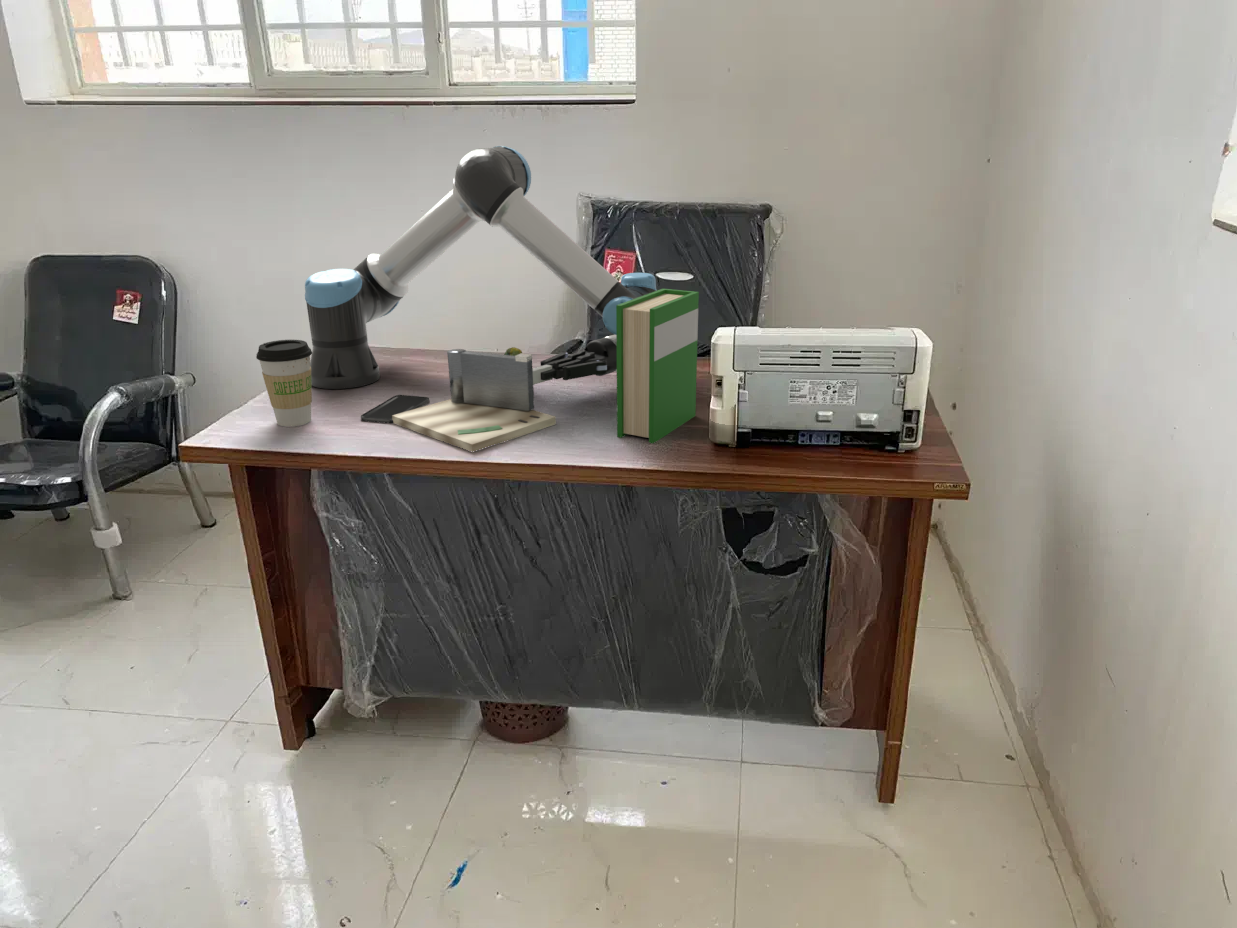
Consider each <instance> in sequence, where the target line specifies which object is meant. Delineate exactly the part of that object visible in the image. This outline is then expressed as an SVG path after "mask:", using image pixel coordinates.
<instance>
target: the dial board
mask: <svg viewBox="0 0 1237 928" xmlns="http://www.w3.org/2000/svg"><path fill="white" fill-rule="evenodd" d="M392 420H393V424H395V425H397V426H400V427H403V428H405V429H409V430H411V431H414V432H417V433H419V434H422V435H424V436H428V437H430V438H432V439H435V440H438V441H441V442H443V441H444V442H443V443H446V444H448V443H449V445H451V444H452V446H454V445H455V446H454V447H456V446H458V447H457V448H459V447H460V448H459V449H462V448H463V449H462V450H465V449H466V450H465V451H467V450H469V451H468V452H470V451H472V452H471V453H474V452H473V451H476V450H479V449H482V448H485V447H488V446H491V445H494V444H496V445H499V444H502V443H505V442H508V441H511V440H514V439H517V438H520V437H523V436H525V435H526V436H527V435H528V434H531V433H534V432H538V431H540V430H543V429H547V428H549V427H552V426H555V425H557V421H556V420H557V417H556V416H555V415H552V414H551V415H550V414H548V413H545V412H541V411H538V410H534V409H532V410H530V411H524V410H517V409H509V408H501V407H494V406H486V405H478V404H471V403H453V402H451V398H449V399H447V400H442V401H439V402H435V403H432V404H431V403H430V404H428V405H427V404H426V405H424V406H423V407H420V408H417V409H413V410H410V411H406V412H402V413H399V414H395V415H392ZM507 440H508V441H507ZM504 441H505V442H504ZM498 443H499V444H498ZM494 446H495V445H494ZM491 447H492V446H491ZM488 448H489V447H488ZM485 449H486V448H485ZM482 450H483V449H482ZM479 451H480V450H479ZM476 452H477V451H476Z"/></svg>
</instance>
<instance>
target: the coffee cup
mask: <svg viewBox="0 0 1237 928" xmlns="http://www.w3.org/2000/svg"><path fill="white" fill-rule="evenodd" d="M311 355H312V349H311V347H309V345H308V343H307V341H305V340H301V339H280V340H279V339H278V340H273V341H269V342H263V343H262V344H260V345H258V351H257V353H256V356H255V357H256V360H258V361H259V363H260V367H261V370H262V372H261V374H262V377H263V381H264V384H265V388H266V391H267V395H268V399H269V401H270V405H271V407H272V410H273V414H274V416H275V420H276V424H277V425H278V426H280V427H287V428H291V427H292V428H294V427H301V426H304V425H307V424H309V423H311V421H312V402H313V398H312V397H313V395H312V393H313V392H312V385H311V367H310V360H311Z"/></svg>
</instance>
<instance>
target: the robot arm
mask: <svg viewBox="0 0 1237 928" xmlns="http://www.w3.org/2000/svg"><path fill="white" fill-rule="evenodd" d="M452 182H453V183H452V189H451V190H450V191H449V192H448V193H447V194H446V195H444V197H442V198H441V199H440V200H439V201H438V202H437V203H435V205H433V207H431V208H430V209H429V210H428V211H427V212H426V213H425V214H423V215H422V217H420V218H419V219H418V220H417V221H416V222H415V223H414V224H412V226H411V227H410V228H408V229H407V230H406V231H405V232H403V234H402V235H400V236H399V237H398V238H397V239H396V240H395V241H394V242H393V243H391V245H389V246H388V247H387V248H386V249H385V250H384V251H383V252H382V253H381V254H380V253H376V252H375V253H373V252H372V253H370V254H368V255H367V256H366V258H364V259H363V260H362V261H361V262H360V263H359V264H358V265H357V266H356V267H354V268H353V269H351V268H331V269H327V270H325V271H324V270H322V271H318V272H315V273H314V274H311V275H310V276H308V277H307V279H306V280H305V281H304V290H305V292H304V299H305V301H306V309H307V314H308V315H307V316H308V317H307V318H308V322H309V330H310V337H311V343H312V344H311V345H312V349H311V351H312V354H311V355H310V367H311V387H314V388H318V389H324V390H325V389H326V390H343V389H344V390H345V389H352V388H358V387H363V386H367V385H370V384H373V383H375V382H377V381H378V380H380V378H381V375H380V368H379V365H378V362H377V359H376V358H375V355H374V354H373V351H372V349H371V347H370V345H369V339H368V330H367V324H368V323H369V322H372V321H374V320H376V319H379V318H383V317H385V316H388V315H389V314H391V312H393V310H394V309H396V307H397V306H398V304H399V303H400V301H401V300H402V299H403V298H404V297H405V296H406V295H407V294H408V293H409V292H408V291H409V284H410V283H411V282H412V281H413V280H414V279H415V278H417V277H418V276H419V275H420V274H421V273H422V272H424V270H426V269H427V268H428V267H429V266H430V265H432V263H434V262H435V261H436V260H437V259H438V258H439V257H441V256H442V255H443V254H444V253H445V252H447V250H449V249H450V248H451V247H452V246H453V245H454V244H455V243H457V242H458V241H459V240H460V239H461V238H462V237H464V235H466V234H467V233H468V232H470V230H471V229H472V228H474V227H475V226H476V225H477V224H479V222H481V221H482V222H486V223H487V224H488V225H489V226H491V227H492V228H493V227H494V228H495V227H498V228H501V230H502V231H504V232H505V233H506V234H507V235H508V236H509V237H510V238H512V239H513V240H514V241H515V242H516V243H518V244H519V245H520V246H521V247H522V248H523V249H524V250H526V251H527V252H528V254H530V255H531V256H532V257H534V259H536V260H537V261H538V262H539V263H540V264H542V266H543V267H545V268H546V269H547V270H548V271H550V272H551V274H553V275H554V276H555V277H556V278H557V279H559V280H560V281H561V282H562V283H563V284H564V285H565V286H567V288H569V289H570V290H571V291H572V292H573V293H575V294H576V295H577V297H579V298H580V299H581V300H583V301H584V302H585V303H586V304H587V305H588V306H590V307H591V308H592V309H593V310H594V311H595V312H596V313H597V314H598V315H599V316H601V318H602V321H603V325H604V326H605V328H606V330H607V331H608V332H610V333H611V334H612V335H609V336H608V335H607V336H604V337H602V338H598V339H594V340H591V341H589V342H588V343H586V346H585V347H584V349H580V350H578V351H576V352H573V353H571V354H570V353H568V352H567V350H562V351H560V352H559V353H558V354H556V355H553V356H550V357H548V358H546V359H544V360H541V361H540V366H537V367H532V369H533V386H534V385H538V384H542V383H544V382H547V381H551V380H553V379H554V380H561V379H562V380H563V381H568V380H569V381H570V380H574V379H578V378H579V379H581V378H585V377H591V376H597V377H601V376H606V375H609V374H612V373H614V372H615V373H617V333H616V305H618V304H621V303H624V302H627V301H630V300H632V299H635V298H638V297H641V296H644V295H646V294H649V293H652V292H655V291H657V290H658V289H657V280H656V276H655V275H654V274H652V273H647V272H629V273H625V274H623V275H622V276H621V277H620V280H619V279H617V278H616V277H615V276H613V275H612V274H611V273H610V271H608V270H607V269H606V268H605V267H604V266H602V265H601V264H600V263H599V262H598V261H597V260H595V259H594V258H593V257H592V256H591V255H590V254H589V253H588V252H587V251H586V250H584V249H583V248H582V247H581V246H580V245H579V244H578V243H576V242H575V241H574V240H573V239H572V238H571V237H570V236H568V234H566V233H565V231H563V230H562V229H561V228H559V227H558V226H557V225H556V224H555V223H554V222H553V221H552V220H551V219H549V218H548V217H547V216H546V215H545V213H543V212H541V211H540V210H539V209H538V208H537V207H536V206H535V205H534V204H532V203H531V202H530V201H529V200H528V199H527V198H526V197H525V196H526V195H527V194H528V192H529V190H530V188H531V184H532V171H531V167H530V165H529V163H528V161H527V159H526V158H525V157H524V155H523V154H521V153H520V152H519V151H518V150H517V149H514V148H511V147H508V146H505V145H496V146H493V147H488V148H487V147H486V148H476V149H473V150H470V151H468V153H466V154H464V155H463V157H462V158H461V159H460V161H459V162H458V164H457V165H456V169H455V174H454V177H453V180H452Z"/></svg>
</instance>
